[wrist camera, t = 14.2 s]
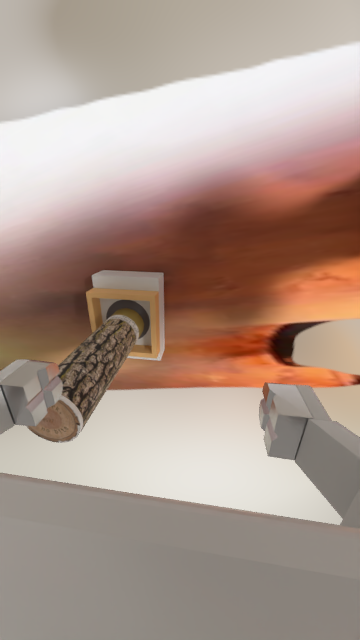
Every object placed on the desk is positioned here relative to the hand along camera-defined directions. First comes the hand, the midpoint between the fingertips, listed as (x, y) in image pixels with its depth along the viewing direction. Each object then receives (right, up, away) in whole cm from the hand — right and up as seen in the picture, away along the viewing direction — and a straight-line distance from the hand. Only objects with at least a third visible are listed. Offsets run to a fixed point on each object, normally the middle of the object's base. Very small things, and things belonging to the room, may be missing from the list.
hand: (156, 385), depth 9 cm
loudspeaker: (-9, +4, +42) cm, 43 cm away
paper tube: (-9, +2, +38) cm, 39 cm away
